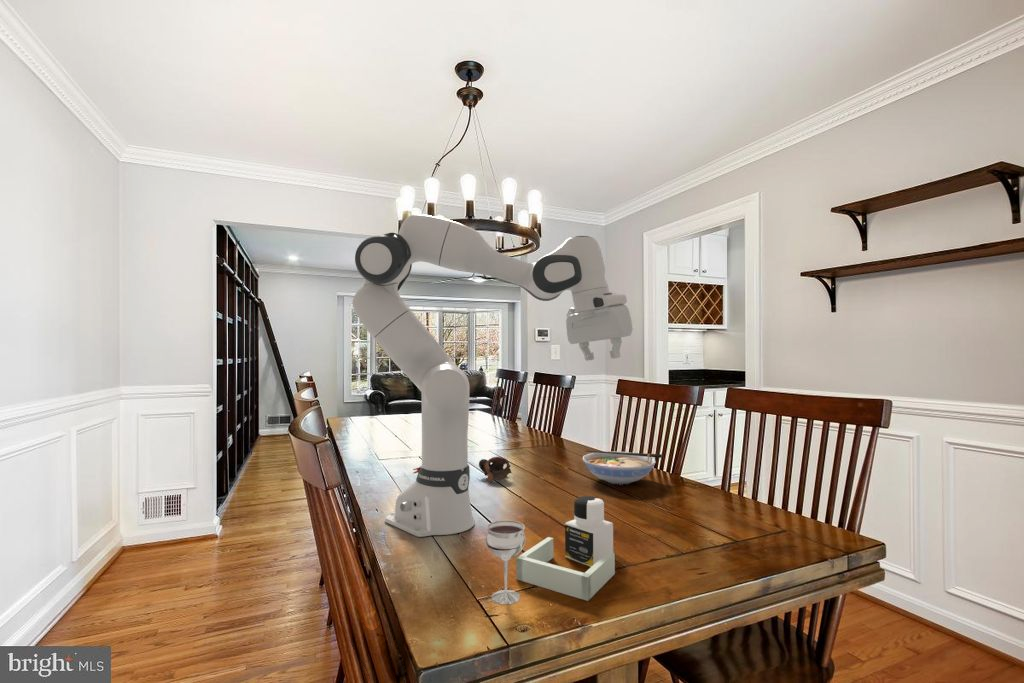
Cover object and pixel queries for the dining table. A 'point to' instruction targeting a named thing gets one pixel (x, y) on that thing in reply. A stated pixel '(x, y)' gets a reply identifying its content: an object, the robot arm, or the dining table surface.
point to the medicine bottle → (588, 532)
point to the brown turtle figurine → (495, 468)
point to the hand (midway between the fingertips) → (602, 359)
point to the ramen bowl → (619, 465)
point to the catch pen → (563, 572)
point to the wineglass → (505, 551)
